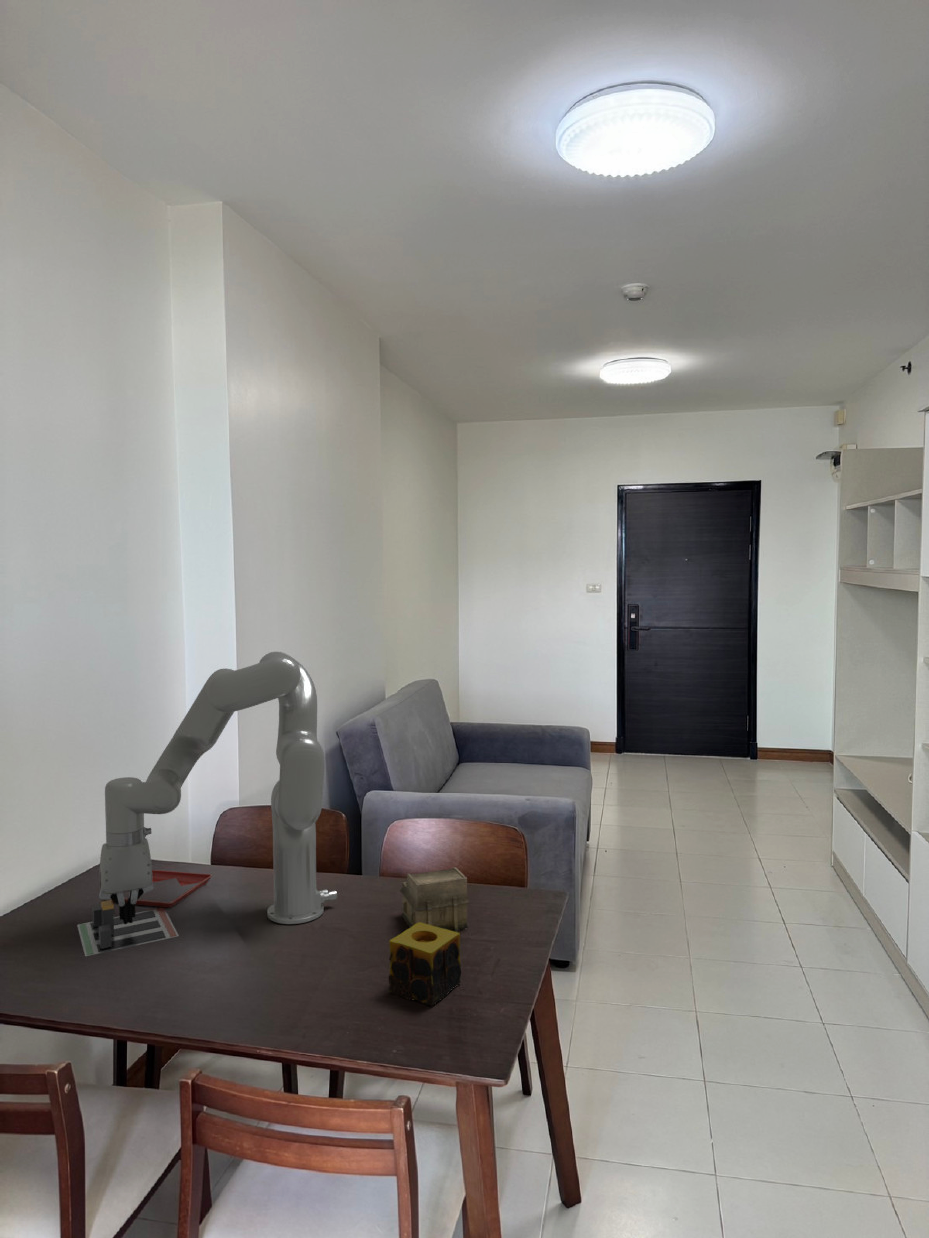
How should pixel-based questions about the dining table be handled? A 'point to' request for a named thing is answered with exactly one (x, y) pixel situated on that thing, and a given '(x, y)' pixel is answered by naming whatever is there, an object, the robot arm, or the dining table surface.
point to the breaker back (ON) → (97, 915)
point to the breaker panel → (129, 932)
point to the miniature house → (436, 899)
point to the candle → (424, 963)
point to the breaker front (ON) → (105, 936)
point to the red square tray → (183, 879)
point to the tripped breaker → (108, 914)
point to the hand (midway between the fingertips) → (127, 921)
